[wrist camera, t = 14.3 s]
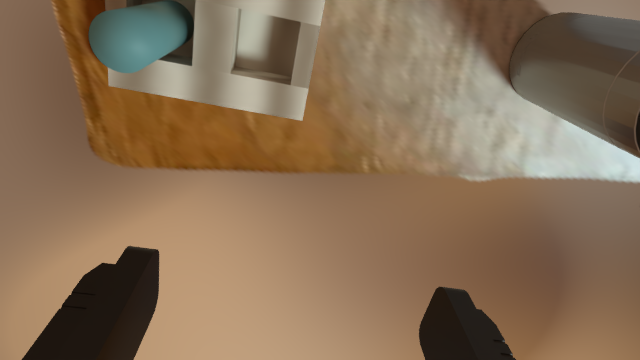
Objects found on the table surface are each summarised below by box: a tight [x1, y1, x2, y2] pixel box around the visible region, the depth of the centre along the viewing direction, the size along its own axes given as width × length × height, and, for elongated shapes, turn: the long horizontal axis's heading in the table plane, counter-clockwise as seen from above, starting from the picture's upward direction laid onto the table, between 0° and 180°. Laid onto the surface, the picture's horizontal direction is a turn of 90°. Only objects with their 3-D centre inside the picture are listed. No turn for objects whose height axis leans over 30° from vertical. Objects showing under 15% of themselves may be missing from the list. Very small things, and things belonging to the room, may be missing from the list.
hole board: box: [105, 0, 325, 121], centre depth 36 cm, size 18×12×4 cm, turn 78°
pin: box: [89, 0, 194, 73], centre depth 31 cm, size 4×4×12 cm
